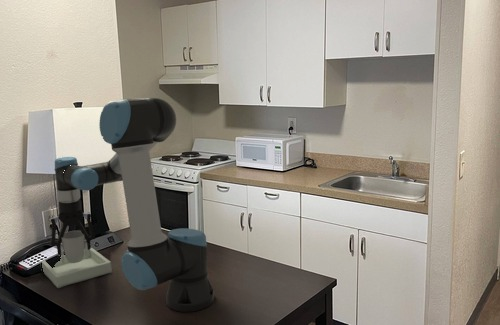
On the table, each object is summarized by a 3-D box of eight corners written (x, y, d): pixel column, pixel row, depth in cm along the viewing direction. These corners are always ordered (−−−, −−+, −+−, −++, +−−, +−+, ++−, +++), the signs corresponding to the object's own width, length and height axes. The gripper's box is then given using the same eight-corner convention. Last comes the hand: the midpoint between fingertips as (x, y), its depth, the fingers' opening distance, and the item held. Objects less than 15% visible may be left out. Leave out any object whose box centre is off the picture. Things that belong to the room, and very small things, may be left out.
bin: (111, 272, 168) (111, 262, 167) (57, 288, 156) (56, 277, 155) (92, 257, 183) (91, 247, 182) (41, 270, 171) (40, 260, 170)
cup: (91, 258, 170) (89, 232, 168) (74, 266, 163) (71, 240, 161) (76, 254, 174) (73, 229, 172) (58, 262, 167) (55, 236, 165)
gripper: (98, 194, 172) (102, 251, 176) (38, 201, 163) (44, 261, 168) (100, 198, 165) (105, 258, 169) (38, 206, 157) (45, 269, 161)
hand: (75, 259), depth 168 cm, fingers closed on cup, 8 cm apart
